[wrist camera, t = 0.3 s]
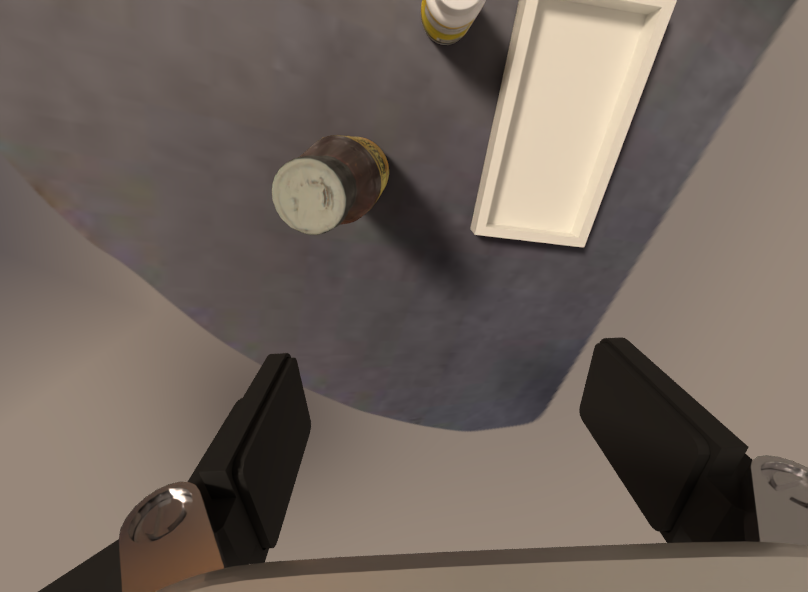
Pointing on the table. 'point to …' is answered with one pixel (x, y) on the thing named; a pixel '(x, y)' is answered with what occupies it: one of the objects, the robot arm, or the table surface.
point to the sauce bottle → (330, 184)
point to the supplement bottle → (449, 18)
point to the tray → (564, 114)
